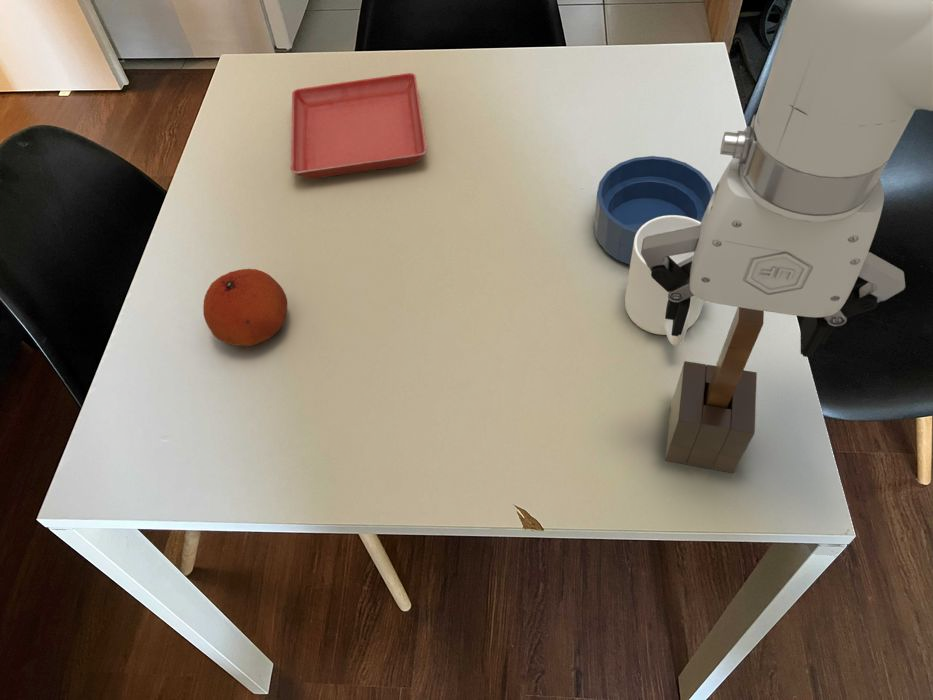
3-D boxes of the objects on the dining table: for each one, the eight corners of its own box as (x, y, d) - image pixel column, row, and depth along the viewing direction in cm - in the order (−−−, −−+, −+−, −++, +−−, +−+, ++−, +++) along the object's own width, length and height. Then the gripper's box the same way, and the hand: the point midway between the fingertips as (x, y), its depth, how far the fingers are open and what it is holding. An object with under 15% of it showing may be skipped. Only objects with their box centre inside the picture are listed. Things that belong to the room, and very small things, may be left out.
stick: (711, 431, 71) (764, 305, 55) (710, 447, 70) (763, 324, 54) (692, 428, 71) (739, 302, 55) (691, 444, 70) (738, 320, 54)
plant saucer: (430, 171, 96) (427, 152, 93) (296, 191, 96) (289, 172, 93) (418, 91, 106) (415, 71, 104) (297, 108, 106) (291, 89, 104)
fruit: (218, 366, 80) (190, 323, 74) (218, 306, 85) (192, 260, 79) (296, 350, 81) (275, 306, 74) (292, 291, 86) (272, 245, 79)
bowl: (707, 200, 89) (717, 162, 84) (700, 279, 82) (710, 242, 77) (602, 188, 92) (606, 151, 87) (586, 263, 85) (589, 227, 80)
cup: (692, 277, 82) (710, 212, 74) (713, 364, 75) (735, 303, 67) (619, 280, 83) (629, 217, 74) (633, 367, 76) (645, 308, 68)
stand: (736, 415, 72) (756, 372, 65) (733, 473, 68) (754, 433, 62) (670, 404, 73) (684, 360, 66) (664, 460, 70) (678, 419, 63)
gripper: (655, 184, 42) (622, 352, 56) (983, 224, 39) (860, 391, 53) (667, 105, 46) (634, 279, 60) (965, 134, 43) (856, 312, 57)
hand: (740, 331), depth 56 cm, fingers open, 9 cm apart
